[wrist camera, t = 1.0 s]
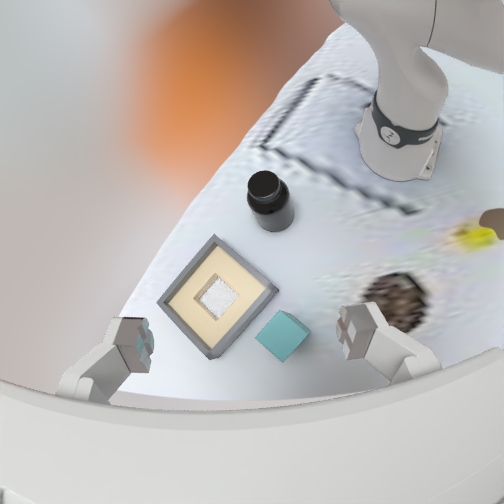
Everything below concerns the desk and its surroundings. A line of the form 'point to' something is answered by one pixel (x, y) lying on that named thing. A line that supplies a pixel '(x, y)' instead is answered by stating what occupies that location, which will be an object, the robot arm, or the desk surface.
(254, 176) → the supplement bottle
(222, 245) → the open box
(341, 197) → the desk surface
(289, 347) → the peg
